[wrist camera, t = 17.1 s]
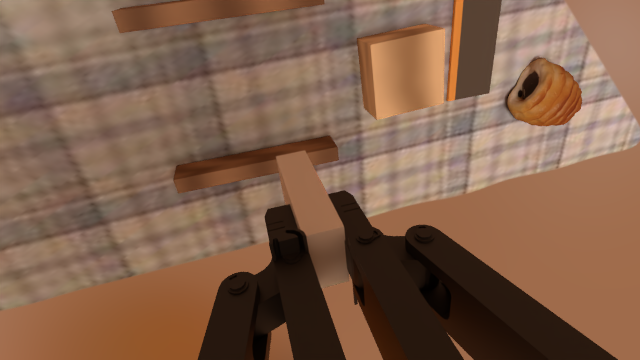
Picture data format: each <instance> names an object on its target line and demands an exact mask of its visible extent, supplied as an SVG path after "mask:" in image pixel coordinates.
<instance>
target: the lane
mask: <svg viewBox="0 0 640 360" xmlns="http://www.w3.org/2000/svg"><path fill="white" fill-rule="evenodd" d="M322 4H324V0H180V1H172V2H165V3H157V4H150V5H142V6H135V7H127V8H121V9H118V10H115V11H112V13H113V16H114V19H115V21H116V24H117V27H118V30H119V32H120V33H124V32H131V31H138V30H145V29H152V28H159V27H166V26H173V25H180V24H187V23H194V22H202V21H209V20H216V19H223V18H230V17H237V16H244V15H251V14H258V13H265V12H272V11H279V10H286V9H293V8H301V7H308V6H315V5H322ZM304 150H305V151H306V153H307V155H308V157H309V159H310V161H311V163H312V165H318V164H323V163H328V162H332V161H337V160H339V159H338V148H337V146H336V144H335V143H334V141H333V140H332V138H331V137H330V136H326V137H321V138H316V139H311V140H306V141H301V142H296V143H290V144H285V145H280V146H275V147H270V148H265V149H260V150H255V151H250V152H245V153H239V154H234V155H229V156H224V157H219V158H214V159H209V160H204V161H199V162H194V163H188V164H183V165H178V166H177V167H176V171H175V175H174V183H175V186H176V188H177V191H178V193H183V192H187V191H192V190H197V189H202V188H207V187H212V186H216V185H221V184H226V183H231V182H236V181H241V180H245V179H250V178H255V177H260V176H265V175H270V174H274V173H279V170H278V165H277V160H276V156H280V155H285V154H290V153H294V152H299V151H304Z"/></svg>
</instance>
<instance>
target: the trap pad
mask: <svg viewBox="0 0 640 360" xmlns="http://www.w3.org/2000/svg"><path fill="white" fill-rule="evenodd" d="M501 1H502V0H454V7H453V20H452V34H451V47H450V61H449V74H448V88H447V101H451V100H456V99H461V98H466V97H472V96H477V95H482V94H487V93H489V90H490V83H491V75H492V68H493V60H494V53H495V45H496V38H497V31H498V23H499V16H500V8H501Z"/></svg>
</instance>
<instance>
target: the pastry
mask: <svg viewBox="0 0 640 360" xmlns="http://www.w3.org/2000/svg"><path fill="white" fill-rule="evenodd" d="M581 93H582V91H581V89H580V88H579V85H578V83H577V82H576V81H574V79H573V76H572V75H571V74H570V73H569V72H567V71H565V70H564V68H563V67H561V66H559V65H557V64H553V63H550V62H548V61H547V60H546V59H545V58H539V59H537V60H535V61H533V62H531V63H530V64H529V66H527V67H526V68H525V69H524V71H523V72H522V74H521V76H520V78H519V80H518V82H517V85H516V87H515V88H514V89H513V90H512V92H511V93H510V95H509V96H508V108H509V110H510V112H511V113H512V115H513V116H514V117H515V118H516V119H517V120H521V121H524V122H527V123H529V124H531V125H537V126H550V125H556V126H557V125H563V124H565V123H567V122H568V121H569V120H570V119H571V118H572V117H573V116H574V114H575V113H576V112H578V111H579V110H580V109H581V104H582V98H581Z"/></svg>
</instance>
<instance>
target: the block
mask: <svg viewBox="0 0 640 360" xmlns="http://www.w3.org/2000/svg"><path fill="white" fill-rule="evenodd" d="M357 44H358V54H359V64H360V74H361V84H362V94H363V103H364V108H365V109H366V110H367V111H368V112H369V113H370V114H371V115H372V116H373V117H374V118H375V119H376V120H378V119H382V118H386V117H390V116H394V115H398V114H402V113H406V112H410V111H414V110H418V109H423V108H427V107H431V106H435V105H439V104H443V103H444V48H445V28H441V27H437V26H432V25H428V24H421V25H417V26H412V27H408V28H403V29H398V30H394V31H389V32H385V33H380V34H375V35H371V36H366V37H362V38H357Z"/></svg>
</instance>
